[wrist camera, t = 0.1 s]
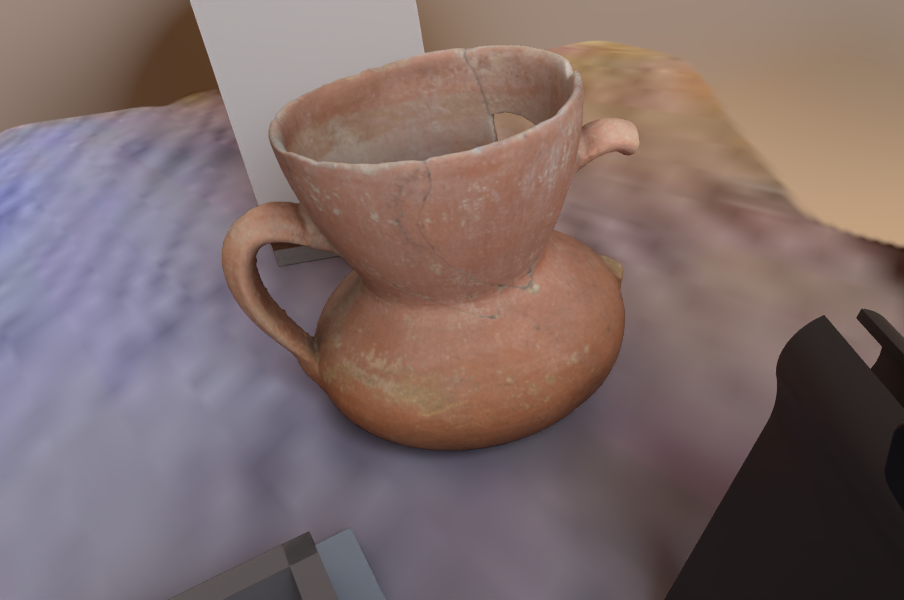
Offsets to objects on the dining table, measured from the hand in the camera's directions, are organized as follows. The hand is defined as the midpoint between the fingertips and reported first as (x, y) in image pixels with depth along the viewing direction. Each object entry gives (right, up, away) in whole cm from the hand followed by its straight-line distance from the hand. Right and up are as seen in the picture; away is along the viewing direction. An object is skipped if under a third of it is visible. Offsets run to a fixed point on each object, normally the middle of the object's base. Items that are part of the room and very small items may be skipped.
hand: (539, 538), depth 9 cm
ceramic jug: (-1, -1, +28) cm, 28 cm away
